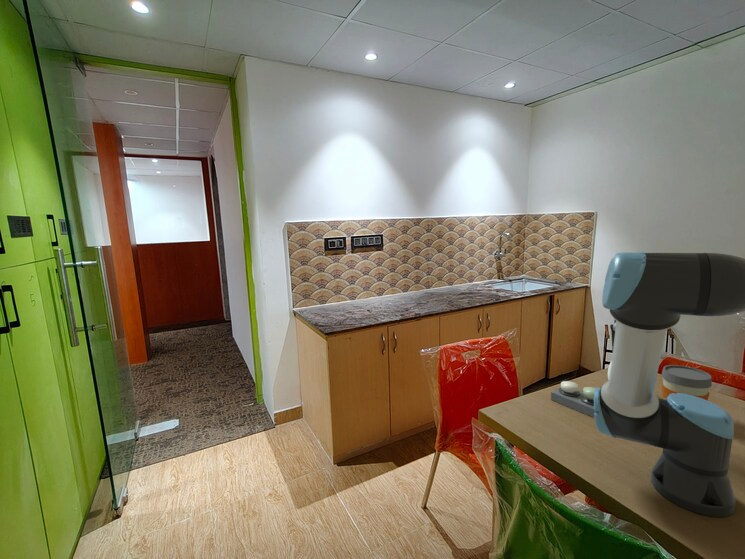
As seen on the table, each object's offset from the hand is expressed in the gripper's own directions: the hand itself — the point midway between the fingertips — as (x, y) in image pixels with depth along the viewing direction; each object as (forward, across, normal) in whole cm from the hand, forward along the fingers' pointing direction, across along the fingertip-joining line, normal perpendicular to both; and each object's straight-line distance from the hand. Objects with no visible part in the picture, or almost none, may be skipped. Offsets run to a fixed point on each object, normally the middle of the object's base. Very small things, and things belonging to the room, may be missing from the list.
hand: (620, 371), depth 114 cm
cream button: (+13, 0, +16) cm, 21 cm away
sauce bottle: (+17, +23, +9) cm, 30 cm away
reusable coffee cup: (+17, +21, -11) cm, 29 cm away
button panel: (+17, 0, +8) cm, 19 cm away
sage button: (+12, 0, +8) cm, 15 cm away
